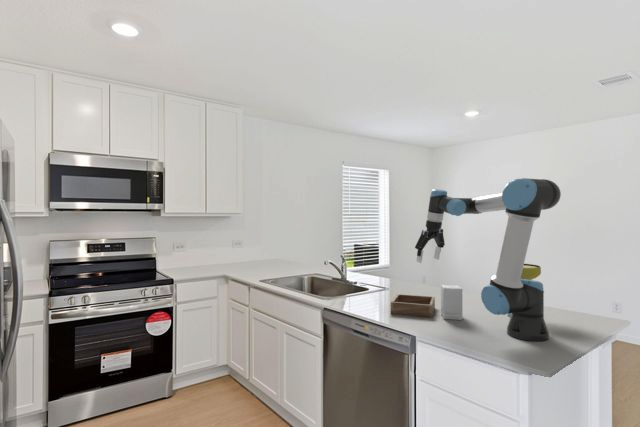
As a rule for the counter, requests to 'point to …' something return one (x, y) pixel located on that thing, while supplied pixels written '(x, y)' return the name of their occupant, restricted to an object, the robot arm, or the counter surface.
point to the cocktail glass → (529, 273)
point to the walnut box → (413, 305)
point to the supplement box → (451, 302)
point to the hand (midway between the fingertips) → (427, 260)
